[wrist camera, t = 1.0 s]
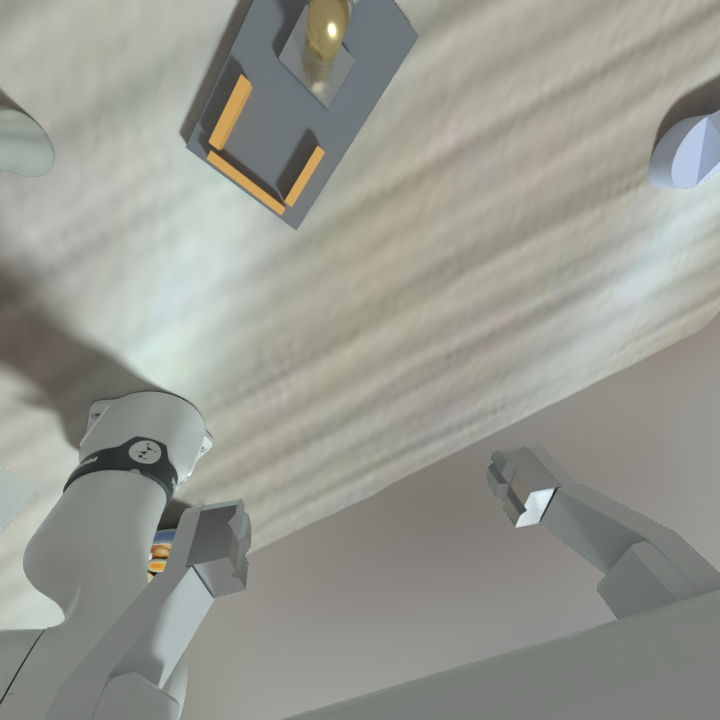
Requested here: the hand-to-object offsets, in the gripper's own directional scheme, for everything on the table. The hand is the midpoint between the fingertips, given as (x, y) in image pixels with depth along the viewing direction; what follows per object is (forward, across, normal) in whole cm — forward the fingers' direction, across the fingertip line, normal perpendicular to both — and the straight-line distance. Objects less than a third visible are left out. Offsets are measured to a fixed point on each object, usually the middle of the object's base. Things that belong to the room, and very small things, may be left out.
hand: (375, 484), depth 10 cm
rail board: (+39, +1, +16) cm, 42 cm away
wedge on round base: (+40, +59, +10) cm, 72 cm away
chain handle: (+37, +5, +21) cm, 43 cm away
